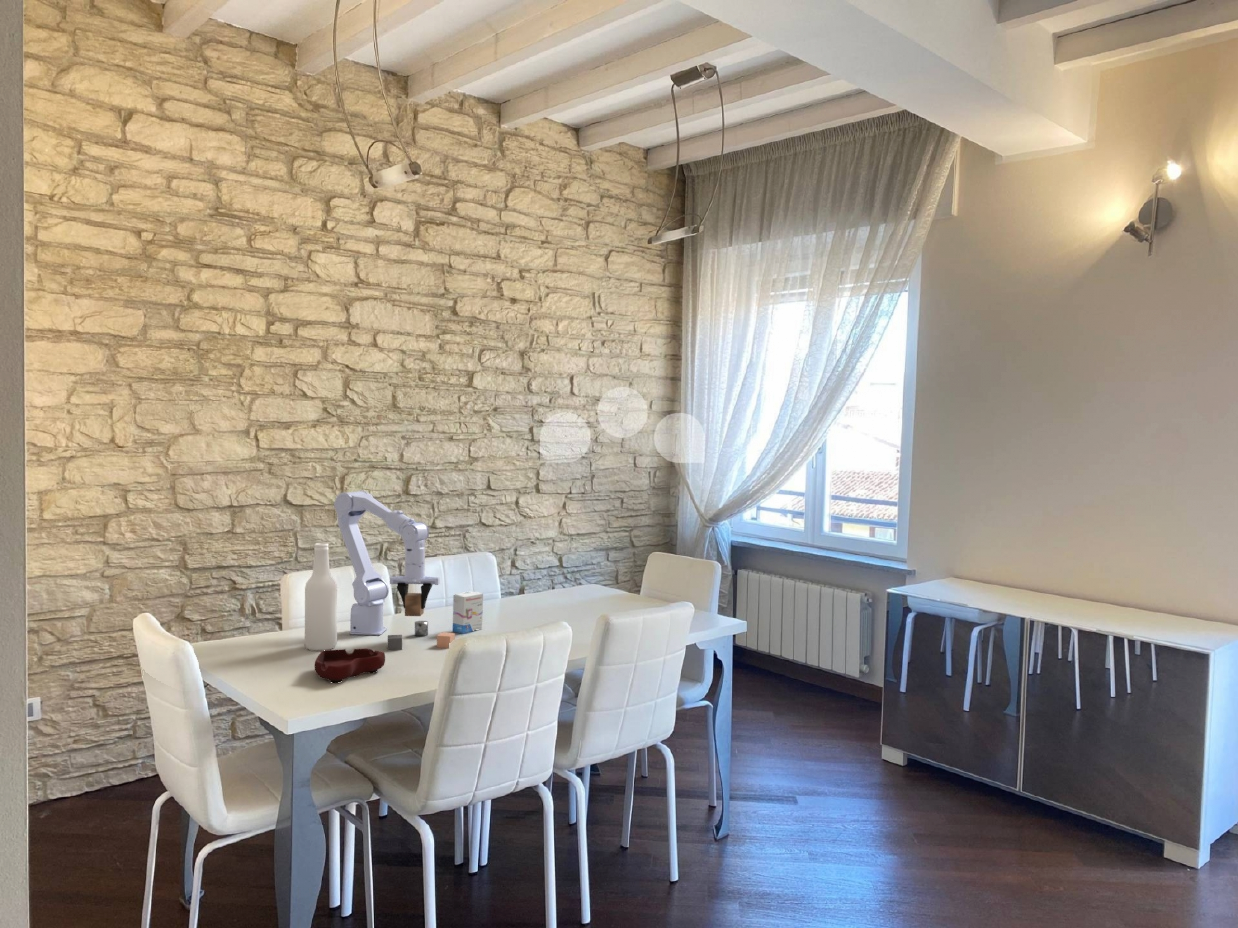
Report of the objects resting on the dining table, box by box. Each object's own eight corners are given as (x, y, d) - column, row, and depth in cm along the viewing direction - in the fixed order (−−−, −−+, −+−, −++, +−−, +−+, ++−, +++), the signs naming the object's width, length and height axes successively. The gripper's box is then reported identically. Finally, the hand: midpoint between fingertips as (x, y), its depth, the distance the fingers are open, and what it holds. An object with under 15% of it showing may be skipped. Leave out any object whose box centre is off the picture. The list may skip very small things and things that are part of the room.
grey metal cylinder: (413, 636, 270) (413, 623, 270) (416, 633, 274) (416, 620, 274) (426, 636, 270) (426, 623, 270) (429, 633, 274) (429, 620, 274)
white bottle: (299, 650, 251) (300, 545, 249) (311, 643, 259) (311, 541, 258) (330, 651, 250) (331, 546, 249) (341, 643, 259) (341, 541, 258)
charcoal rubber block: (387, 650, 253) (387, 638, 253) (387, 647, 257) (387, 635, 257) (401, 650, 254) (402, 638, 254) (401, 646, 258) (401, 634, 258)
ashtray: (349, 661, 242) (349, 643, 242) (391, 671, 233) (391, 652, 233) (293, 676, 228) (293, 657, 227) (335, 688, 219) (335, 668, 218)
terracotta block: (436, 647, 258) (436, 635, 258) (441, 643, 262) (442, 632, 262) (449, 648, 257) (450, 636, 257) (454, 644, 261) (455, 633, 261)
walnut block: (404, 615, 264) (404, 595, 264) (408, 612, 269) (408, 592, 268) (420, 616, 264) (420, 596, 264) (423, 612, 269) (423, 593, 268)
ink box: (463, 634, 274) (463, 596, 273) (451, 631, 277) (452, 594, 276) (483, 629, 281) (483, 592, 280) (472, 626, 284) (472, 590, 283)
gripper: (387, 564, 262) (386, 610, 262) (436, 565, 262) (435, 611, 262) (393, 560, 269) (393, 605, 269) (441, 561, 269) (440, 606, 269)
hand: (414, 607), depth 266 cm, fingers closed on walnut block, 5 cm apart
